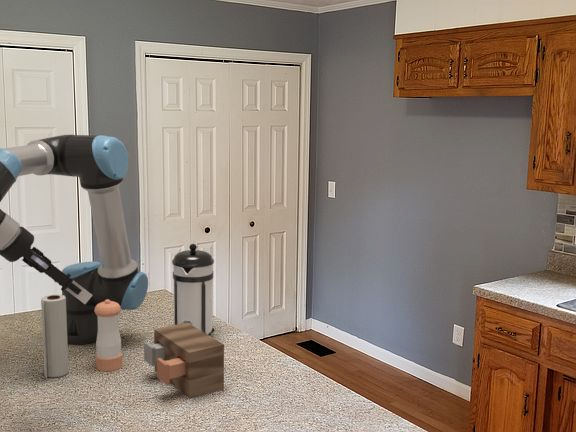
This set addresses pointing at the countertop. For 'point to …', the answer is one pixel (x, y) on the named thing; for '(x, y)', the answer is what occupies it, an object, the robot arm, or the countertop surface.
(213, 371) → the block
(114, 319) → the salt shaker
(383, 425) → the countertop surface
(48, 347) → the paper towel roll
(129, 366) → the countertop surface
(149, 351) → the plug grey
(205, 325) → the coffee press
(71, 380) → the countertop surface
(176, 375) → the plug terracotta
